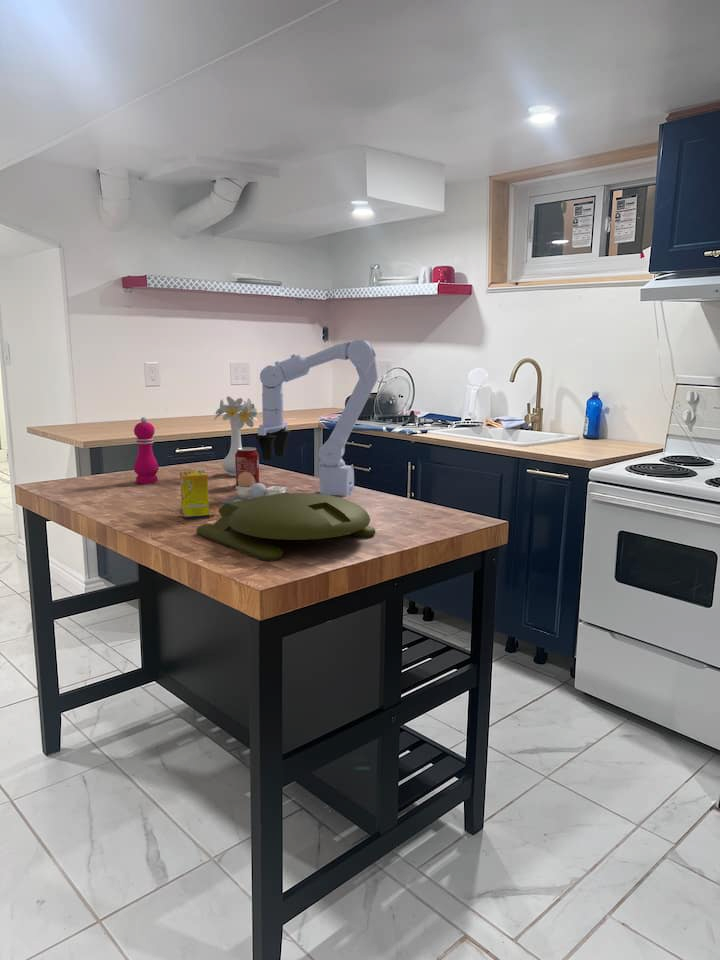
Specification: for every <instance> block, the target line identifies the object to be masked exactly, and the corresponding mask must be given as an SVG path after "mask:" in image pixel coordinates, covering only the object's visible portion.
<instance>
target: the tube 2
mask: <svg viewBox="0 0 720 960" xmlns="http://www.w3.org/2000/svg"><path fill="white" fill-rule="evenodd" d="M287 489H288V486H277V485H276V486H275V485H272V486H270V487H266V491H267V496H269V495H275V494H280V493H286V490H287Z"/></svg>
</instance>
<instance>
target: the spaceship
mask: <svg viewBox="0 0 720 960" xmlns="http://www.w3.org/2000/svg"><path fill="white" fill-rule="evenodd" d="M217 511H218V513H219V514H220V516H221V517H220V518H219V519H218V520H217V521H215V522H214V523H213V524H212V523H205V524H202V525H200V526H198V527H197V528H196V530H195V532H196V533H197V534H198V535H199V536H201V535H202V536H201V537H203V536H204V537H203V538H206V537H207V538H206V539H208V538H209V539H208V540H211V539H212V540H211V541H214V542H216V541H217V542H216V543H219V544H221V543H222V545H224V546H226V545H227V547H229V548H231V547H232V549H234V548H235V549H234V550H236V549H237V551H239V550H240V551H239V552H241V551H242V552H241V553H244V552H245V553H244V554H246V553H247V555H249V554H250V556H251V555H252V557H254V556H255V557H254V558H256V557H257V558H256V559H259V558H260V559H259V560H262V559H263V560H262V561H265V560H273V561H277V560H279V558H280V559H281V558H282V557H283V555H284V554H283V553H284V552H283V550H282V549H281V548H278V547H276V546H273V545H271V544H268V543H265V542H263V541H260V540H258V539H254V538H252V537H256V538H262V539H271V540H286V541H287V540H288V541H289V540H290V541H291V540H293V541H297V540H301V541H302V540H304V541H305V540H306V541H307V540H322V539H327V538H329V539H330V538H335V537H341V536H346V535H347V536H348V535H352V536H354V537H357V538H371V537H373V536H375V534H376V529H375V528H374V527H373V526H370V522H371V518H370V517H371V516H370V515H369V513H368V511H367V510H365V508H363V507H362V506H360V505H359V504H357V503H355V502H353V501H351V500H348V499H346V498H342V497H340V496H336V495H324V494H320V493H311V492H309V493H308V492H293V493H289V492H286V491H285V493H280V494H275V495H269V496H263V497H257V498H251V499H245V500H239V501H234V502H228V503H223V505H222V506H220V507H219V509H218V510H217ZM232 530H233V531H232ZM246 535H247V536H246ZM249 536H250V537H249ZM276 559H277V560H276Z"/></svg>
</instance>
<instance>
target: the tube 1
mask: <svg viewBox="0 0 720 960" xmlns="http://www.w3.org/2000/svg"><path fill="white" fill-rule="evenodd" d="M252 486H253V485H252ZM252 486H250V487H241V486H240V485H239V486H236V485H235V490H236V491H237V492H236V493H237V494H236V495H237V497H238V498H240V499H248V498H250V497H252V496H251V493H250V490H251V487H252Z"/></svg>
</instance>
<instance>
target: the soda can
mask: <svg viewBox="0 0 720 960" xmlns="http://www.w3.org/2000/svg"><path fill="white" fill-rule="evenodd" d="M237 450H238V451H237V452H236V454H235V468H236V476H235V487H236V486H239V483H238V477H239V475H240V474H241V473H243V472H249V473H251V474H252V475H253V477H254V483H253V485H254V484H256V483H260V459H259V456H260V455H259V453H258V451H257V448H256V447H252V446H251V447H250V446H246V447H245V446H244V447H243V446H242V447H241V448H237Z"/></svg>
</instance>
